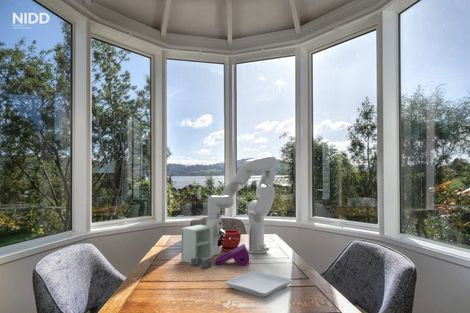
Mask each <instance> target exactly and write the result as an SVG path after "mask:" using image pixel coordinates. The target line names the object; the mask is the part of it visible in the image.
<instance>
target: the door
mask: <svg viewBox="0 0 470 313" xmlns="http://www.w3.org/2000/svg"><path fill="white" fill-rule="evenodd" d="M218 240H219V239H218V237H217V236H214V235H213V232H212V257H213V256H216V255H219V254H221V253H222V252H221V251H222V249H221V247H222V246H219V247H218Z"/></svg>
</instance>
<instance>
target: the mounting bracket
mask: <svg viewBox="0 0 470 313" xmlns="http://www.w3.org/2000/svg"><path fill="white" fill-rule="evenodd" d="M247 248H248V247H247V246H246V244H245V243H242V245H239V246H238V247H237V248H235V249H233V250H231V251H229V252H225V253H223V254H221V255H219V256H218V257H216V258H215V259H214V263H215V265H217V266H218V265H219V266H220V265H222V264H224V263H227V262H229V261H230V260H232V259H233V261H234V263H235V264H236V265H237V266H239V267H246V266H247V265H248V264H249V262H250V255H249V254H250V253H248V251H247Z"/></svg>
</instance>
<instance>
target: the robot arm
mask: <svg viewBox="0 0 470 313" xmlns="http://www.w3.org/2000/svg"><path fill="white" fill-rule="evenodd" d="M277 165H278V160H277V158H276V157H275V156H273V155H266V156H262V157H260V158H259V157H257V158H253V159H246V160H245V161H244V162H243V163H242V165H241V166H240V168H239V169H238V170H237V172H236V173H235V175H234V177H233V178H232V179H231V180H230V181H229V183H228V184H227V185H226V186H225V187H224V188H223V190H222V192H221V194H220V195H215V194H214V195H209V196H208V197H207V218H206V221H205V226H212V232H213V235H214V236H217V237H218V239H219V240H218V247H219V246H221V247H222V239H223V238H224V236H225V234H226V232H225V231H224V230H223V221H222V218H221V217H222V214H221V208H224V209H229V208H231V207H233V206H234V203H235V200H234V196H235V194H237V192H238V191H240V190H242V189H243V188H244V187H245V186H246V184H248V182H249V180H250V179H251V177H252V176H253V175H254V174H256V173H257V174H258V173H261V178H260V180H259V182H258V184H257V187H256V190H255V196H256V197H257V199H253V200H251V201H250V202H249V203H248V204H247V214H248V247H246V248H247V251H248V253H249V254H253V255H254V254H256V255H257V254H258V255H259V254H260V255H261V254H264V253H265V254H266V253H267V252H268V251H270V247H269V246H267V245H266V244H265V219H264V217H266V216H267V215H269V212H270V210H271V208H272V205H273V203H274V200H275V198H276V189H275V187H274V186H273V185H274V183H275V180H276V170H275V168H276V167H277Z"/></svg>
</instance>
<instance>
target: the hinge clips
mask: <svg viewBox="0 0 470 313" xmlns="http://www.w3.org/2000/svg"><path fill="white" fill-rule="evenodd" d="M212 262H213V261H212V260H210V259H208V260H205V261H204V260H201V259H200V258H197V263H196V259H195V258H191V263H190V265H191V267H193V268H195V267H199V266H201V268H200V269H201V270H207V269H209V268H212V267H213V266H212V265H213V264H212Z"/></svg>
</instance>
